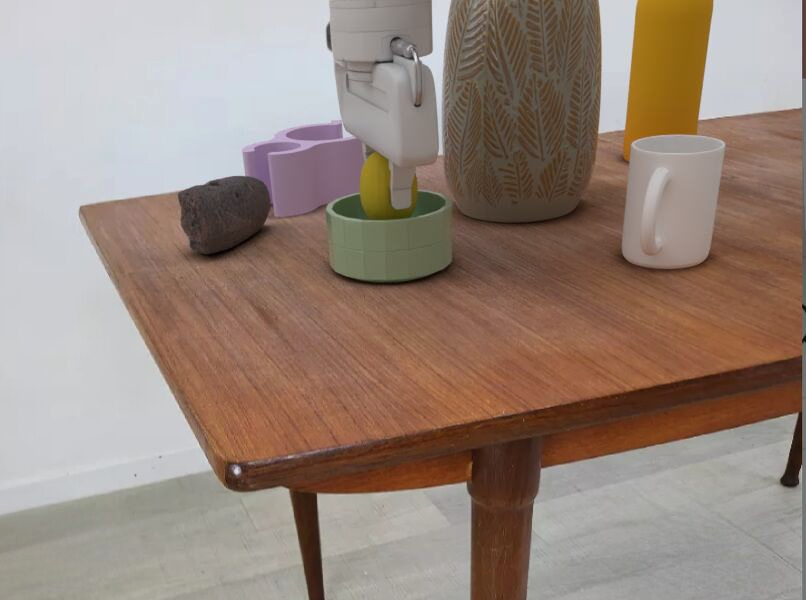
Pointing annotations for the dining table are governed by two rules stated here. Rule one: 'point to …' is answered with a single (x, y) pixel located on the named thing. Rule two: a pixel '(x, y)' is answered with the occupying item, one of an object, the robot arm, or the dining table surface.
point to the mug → (671, 200)
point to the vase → (520, 106)
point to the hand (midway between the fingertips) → (389, 198)
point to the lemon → (381, 190)
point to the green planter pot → (390, 239)
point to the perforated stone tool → (223, 212)
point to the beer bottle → (667, 68)
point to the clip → (306, 166)
